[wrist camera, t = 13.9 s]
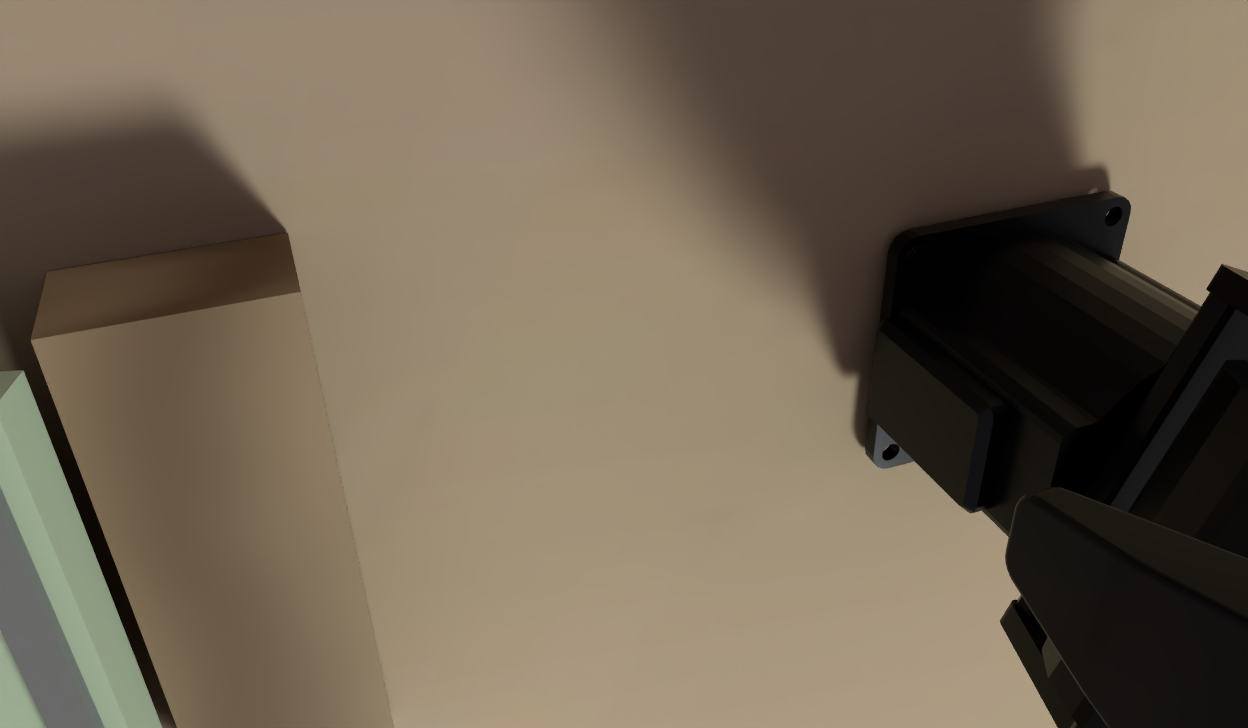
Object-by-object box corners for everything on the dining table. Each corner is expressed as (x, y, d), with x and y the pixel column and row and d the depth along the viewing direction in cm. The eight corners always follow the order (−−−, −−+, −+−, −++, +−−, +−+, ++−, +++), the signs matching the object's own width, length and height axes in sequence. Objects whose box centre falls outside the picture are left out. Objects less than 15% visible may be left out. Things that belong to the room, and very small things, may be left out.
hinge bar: (287, 232, 19) (300, 291, 17) (391, 715, 26) (409, 797, 24) (47, 271, 18) (30, 340, 16) (222, 764, 25) (225, 856, 23)
